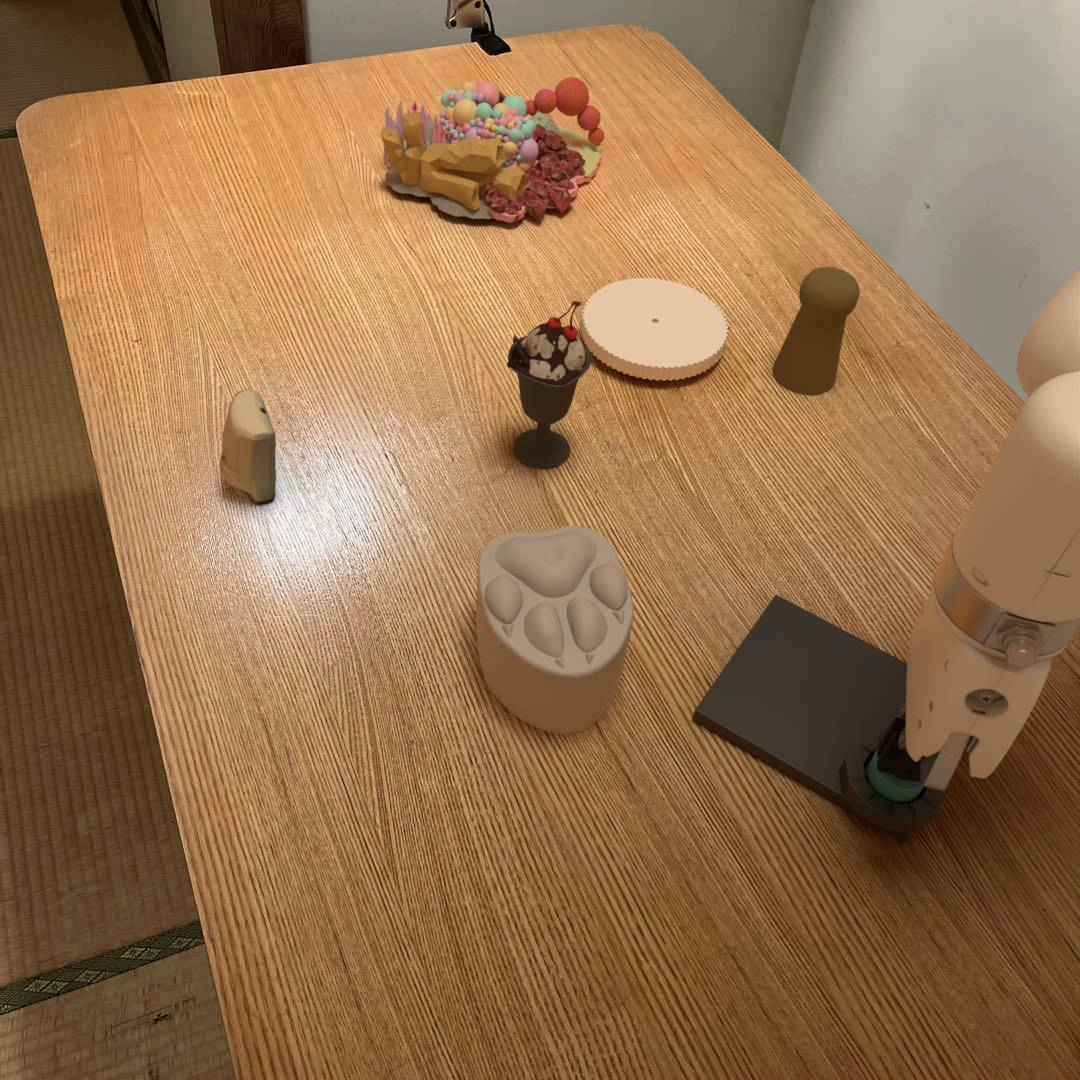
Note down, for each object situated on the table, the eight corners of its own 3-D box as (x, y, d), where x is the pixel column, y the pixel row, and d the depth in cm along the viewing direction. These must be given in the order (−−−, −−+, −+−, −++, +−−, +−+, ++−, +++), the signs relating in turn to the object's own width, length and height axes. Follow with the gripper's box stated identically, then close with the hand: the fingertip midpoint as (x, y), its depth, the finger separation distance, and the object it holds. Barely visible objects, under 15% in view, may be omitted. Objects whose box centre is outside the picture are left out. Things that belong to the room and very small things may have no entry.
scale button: (929, 773, 72) (938, 759, 70) (909, 813, 70) (918, 800, 68) (878, 745, 73) (886, 731, 72) (858, 783, 71) (865, 770, 69)
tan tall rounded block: (307, 481, 89) (297, 409, 83) (263, 518, 86) (249, 446, 80) (255, 452, 91) (241, 379, 85) (211, 488, 88) (193, 415, 82)
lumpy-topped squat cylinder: (599, 582, 84) (611, 506, 78) (641, 723, 76) (659, 651, 69) (467, 597, 82) (468, 520, 76) (496, 744, 74) (500, 672, 67)
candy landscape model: (555, 248, 114) (561, 168, 107) (350, 199, 118) (344, 119, 111) (616, 140, 130) (625, 64, 123) (435, 100, 134) (434, 25, 127)
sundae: (593, 441, 95) (612, 300, 83) (555, 486, 91) (570, 344, 79) (529, 412, 97) (539, 271, 85) (489, 455, 93) (494, 313, 81)
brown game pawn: (769, 387, 101) (797, 289, 93) (775, 348, 105) (802, 251, 97) (833, 400, 100) (867, 303, 92) (837, 361, 104) (870, 264, 96)
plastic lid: (750, 340, 106) (755, 319, 104) (669, 409, 98) (673, 388, 96) (635, 281, 111) (638, 260, 109) (550, 342, 103) (552, 321, 102)
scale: (978, 714, 78) (994, 691, 76) (909, 860, 70) (925, 839, 68) (771, 605, 84) (780, 580, 81) (686, 728, 76) (693, 704, 73)
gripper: (1099, 723, 51) (960, 888, 64) (1073, 505, 61) (957, 688, 74) (939, 685, 52) (835, 855, 65) (939, 475, 62) (848, 661, 75)
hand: (900, 765), depth 70 cm, fingers closed
